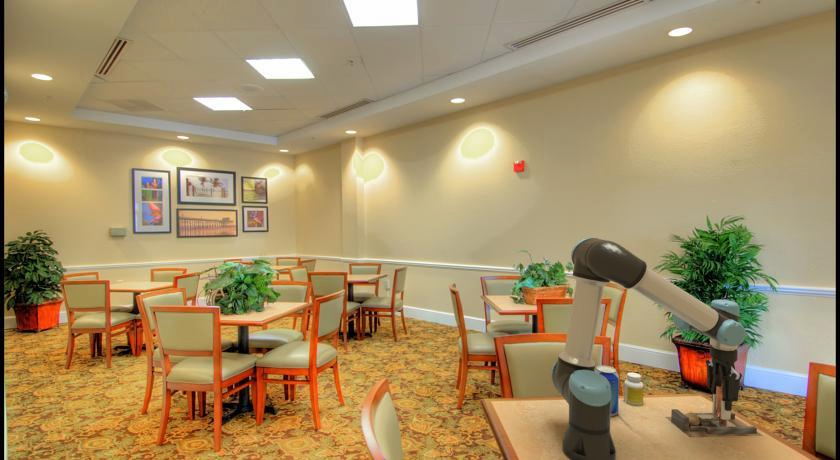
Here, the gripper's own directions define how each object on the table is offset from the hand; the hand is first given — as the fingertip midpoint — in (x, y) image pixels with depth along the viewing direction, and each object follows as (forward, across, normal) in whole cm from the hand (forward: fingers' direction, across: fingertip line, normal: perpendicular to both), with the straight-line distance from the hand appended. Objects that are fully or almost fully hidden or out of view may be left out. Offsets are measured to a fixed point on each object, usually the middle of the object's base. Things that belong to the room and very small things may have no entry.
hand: (721, 415), depth 142 cm
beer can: (+5, +13, +33) cm, 36 cm away
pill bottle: (+5, +18, +20) cm, 27 cm away
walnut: (+3, 0, +10) cm, 11 cm away
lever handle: (+3, 0, +2) cm, 4 cm away
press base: (+5, 0, +3) cm, 5 cm away
